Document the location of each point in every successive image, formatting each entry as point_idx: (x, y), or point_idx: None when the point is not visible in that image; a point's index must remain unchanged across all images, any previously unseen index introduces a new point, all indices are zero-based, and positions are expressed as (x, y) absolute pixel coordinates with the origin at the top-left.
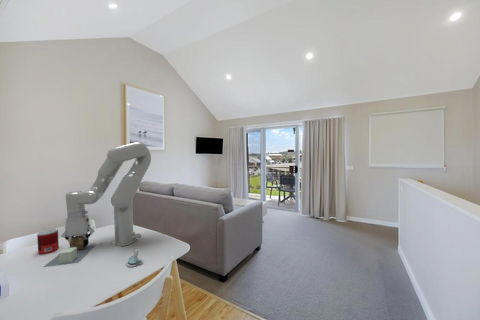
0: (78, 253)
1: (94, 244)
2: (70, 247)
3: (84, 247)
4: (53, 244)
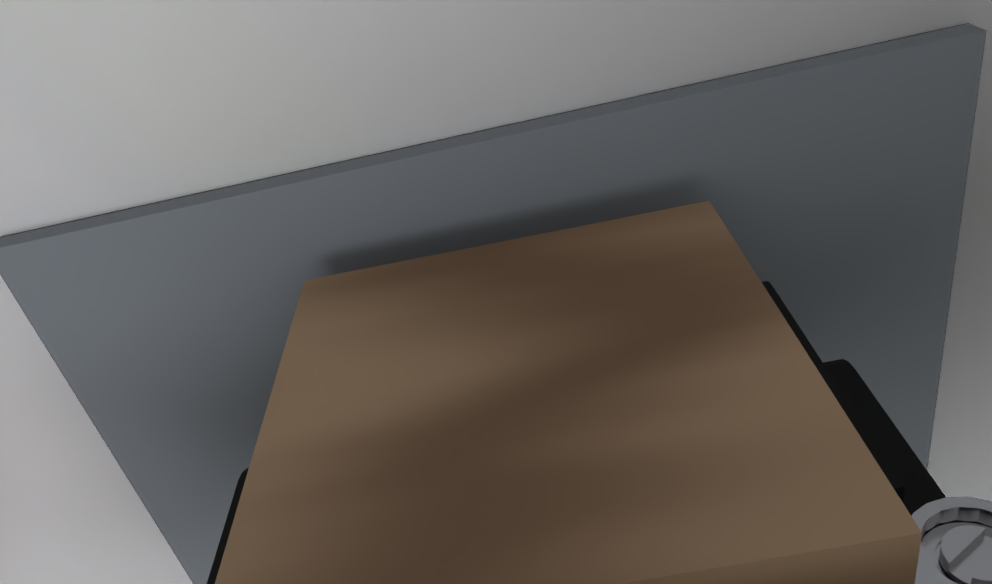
0: None
1: (882, 56)
2: None
3: None
4: None
